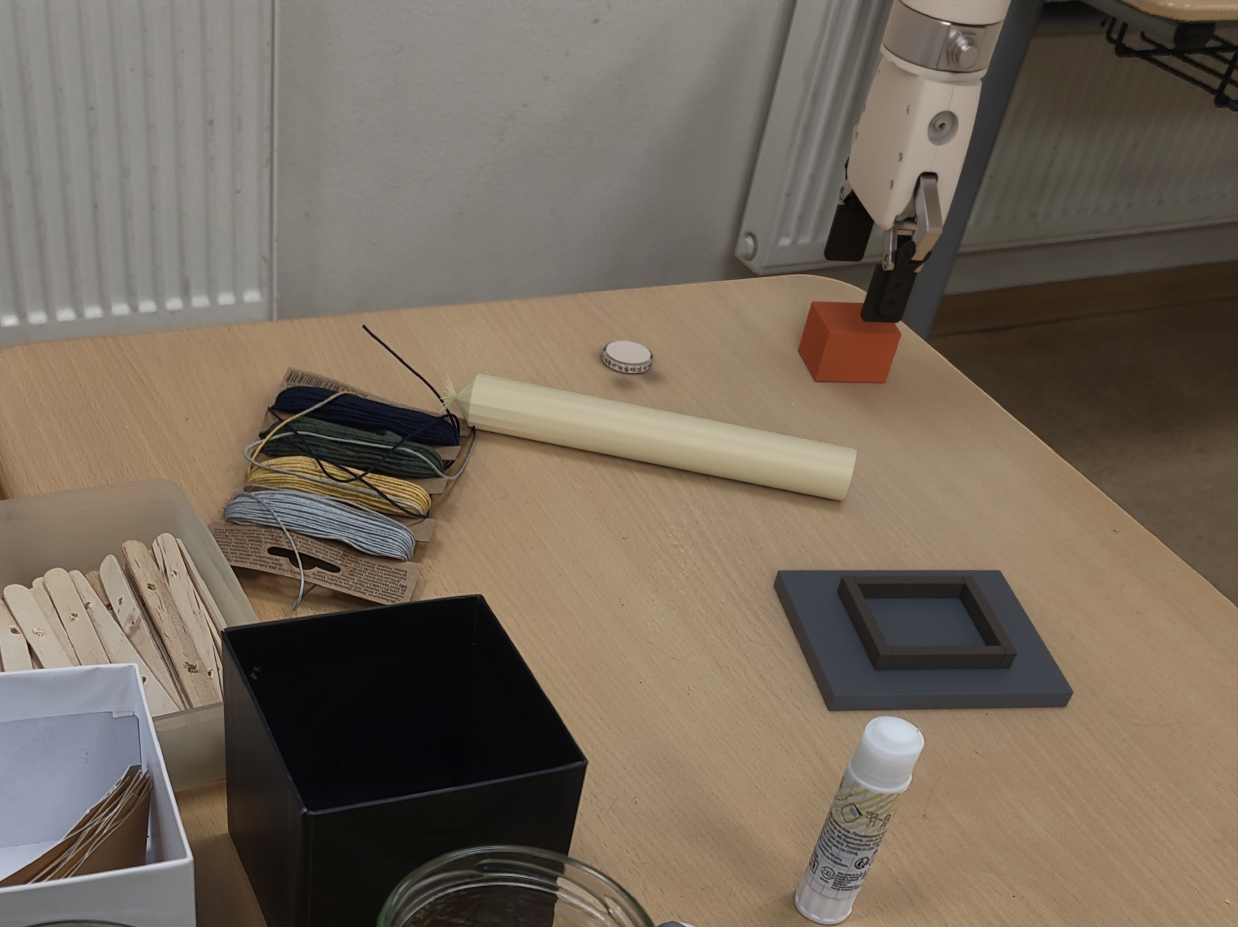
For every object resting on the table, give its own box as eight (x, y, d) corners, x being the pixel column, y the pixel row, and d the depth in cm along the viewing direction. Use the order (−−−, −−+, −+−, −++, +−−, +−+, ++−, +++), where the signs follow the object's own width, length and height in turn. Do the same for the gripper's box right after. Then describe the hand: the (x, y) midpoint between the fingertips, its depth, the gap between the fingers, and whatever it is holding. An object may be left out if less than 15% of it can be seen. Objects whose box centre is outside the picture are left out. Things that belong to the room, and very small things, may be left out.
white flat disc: (597, 366, 113) (599, 358, 113) (606, 343, 116) (608, 335, 115) (647, 377, 113) (649, 369, 113) (655, 353, 115) (657, 345, 115)
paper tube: (444, 406, 108) (449, 357, 105) (842, 485, 106) (858, 438, 103) (434, 430, 105) (438, 381, 103) (840, 512, 104) (856, 464, 101)
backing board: (993, 584, 100) (1007, 554, 98) (1066, 707, 92) (1082, 676, 90) (773, 585, 97) (782, 554, 96) (828, 711, 90) (840, 679, 88)
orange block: (866, 352, 119) (882, 303, 116) (885, 383, 116) (902, 334, 113) (797, 350, 118) (811, 301, 115) (814, 381, 115) (829, 332, 112)
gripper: (1037, 91, 95) (941, 348, 108) (949, -5, 105) (871, 240, 118) (930, 83, 93) (847, 344, 107) (851, -13, 104) (784, 236, 117)
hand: (860, 289), depth 113 cm, fingers open, 9 cm apart
